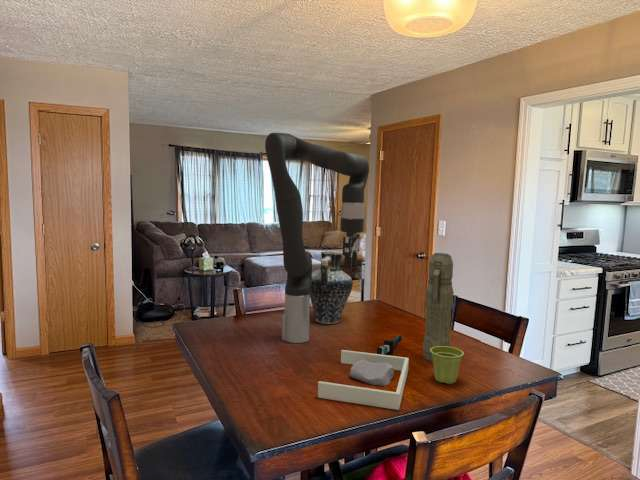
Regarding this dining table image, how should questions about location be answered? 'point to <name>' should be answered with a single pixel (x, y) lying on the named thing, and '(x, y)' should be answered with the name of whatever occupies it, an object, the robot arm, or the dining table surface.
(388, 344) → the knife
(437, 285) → the stone statue
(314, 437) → the dining table surface
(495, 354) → the dining table surface
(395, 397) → the cream u-shaped barrier
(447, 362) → the plant pot
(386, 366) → the stone block
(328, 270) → the jug
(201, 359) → the dining table surface
